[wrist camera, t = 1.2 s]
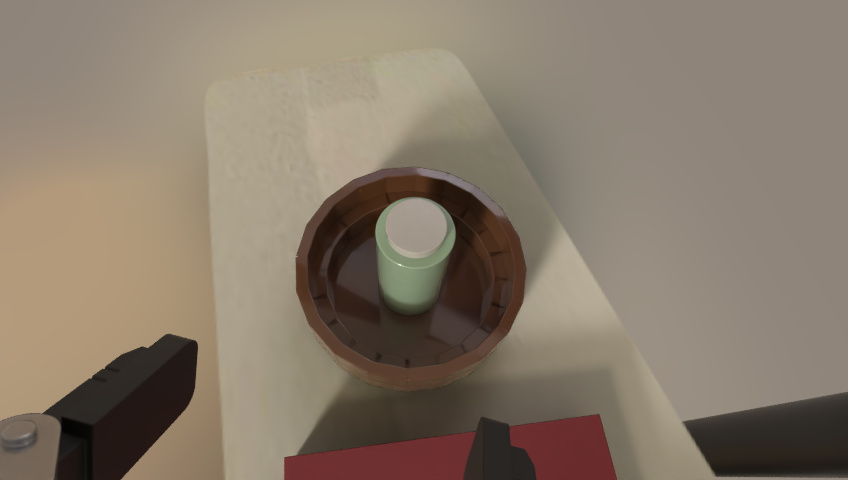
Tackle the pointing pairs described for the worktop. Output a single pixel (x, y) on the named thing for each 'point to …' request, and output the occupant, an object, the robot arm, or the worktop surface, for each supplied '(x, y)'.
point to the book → (466, 455)
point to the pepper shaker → (413, 254)
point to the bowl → (359, 294)
